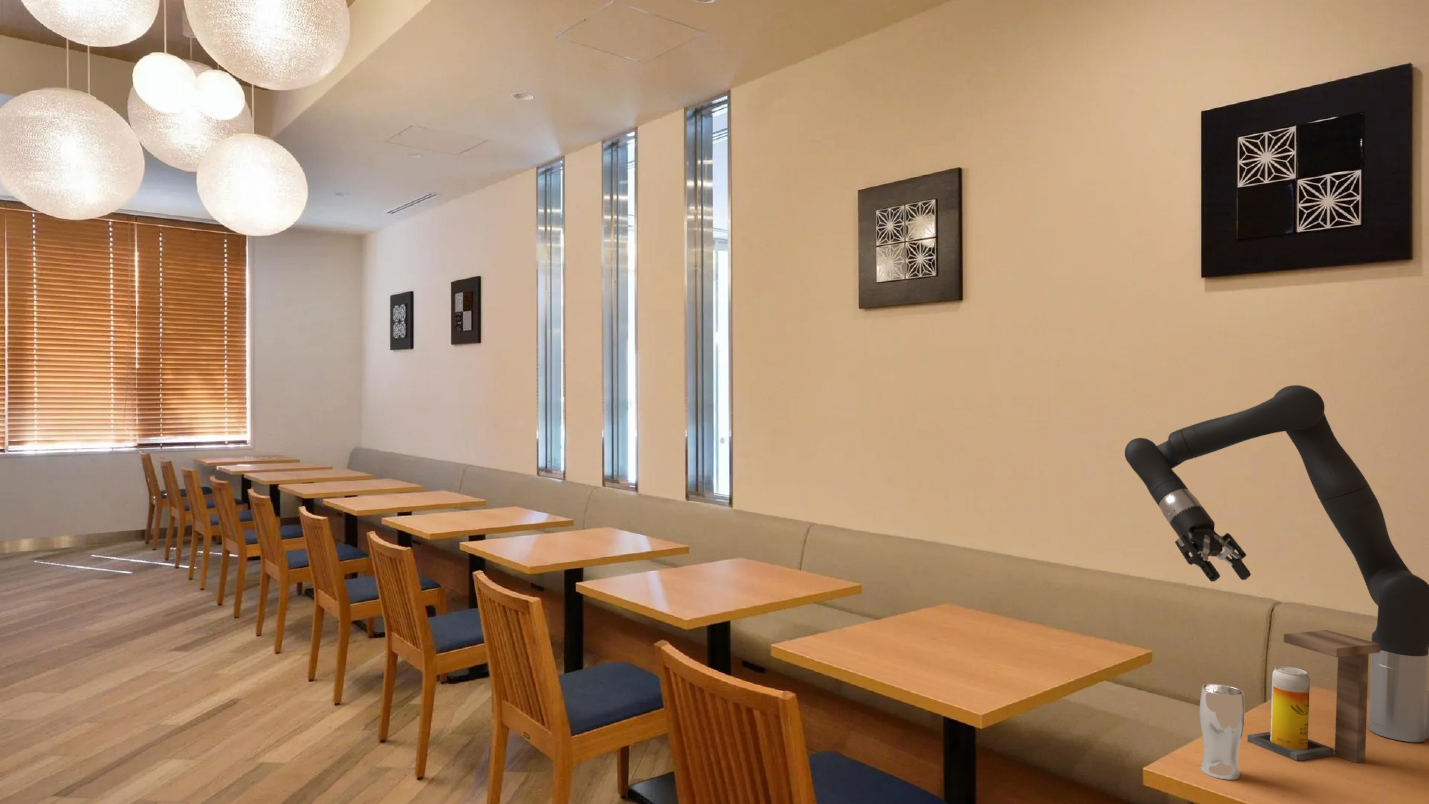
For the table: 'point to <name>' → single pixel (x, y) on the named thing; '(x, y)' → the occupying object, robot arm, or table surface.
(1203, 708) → the beer glass
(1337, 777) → the table surface
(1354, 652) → the overhang bracket
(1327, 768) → the table surface
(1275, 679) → the beer can
